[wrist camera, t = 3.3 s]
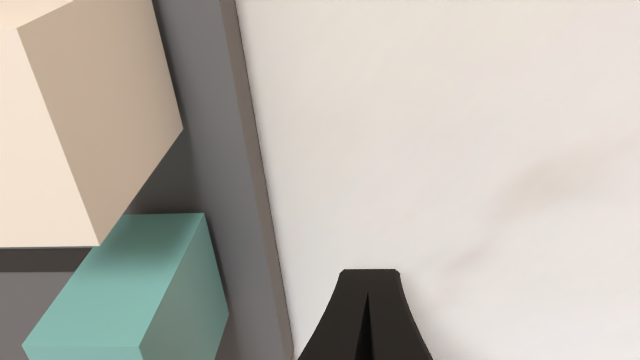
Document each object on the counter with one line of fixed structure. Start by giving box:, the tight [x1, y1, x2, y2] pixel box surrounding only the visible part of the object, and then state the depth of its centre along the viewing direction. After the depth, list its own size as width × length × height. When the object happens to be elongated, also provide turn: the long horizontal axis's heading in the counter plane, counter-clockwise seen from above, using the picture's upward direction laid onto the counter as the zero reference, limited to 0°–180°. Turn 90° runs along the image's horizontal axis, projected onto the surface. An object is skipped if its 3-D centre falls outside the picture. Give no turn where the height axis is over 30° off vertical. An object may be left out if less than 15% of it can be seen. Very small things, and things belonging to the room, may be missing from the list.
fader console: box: [0, 0, 294, 360], centre depth 15 cm, size 14×12×2 cm
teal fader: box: [22, 213, 229, 360], centre depth 13 cm, size 4×2×4 cm, turn 6°
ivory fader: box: [0, 0, 183, 247], centre depth 10 cm, size 4×2×4 cm, turn 6°
